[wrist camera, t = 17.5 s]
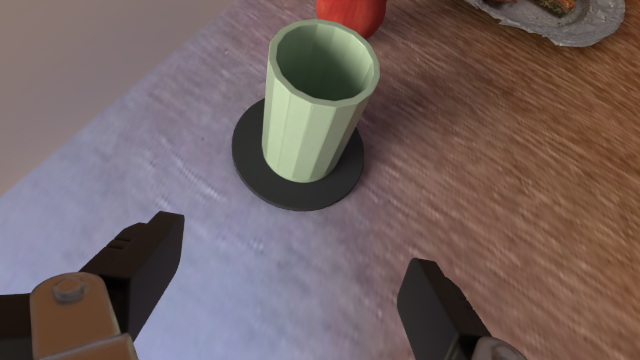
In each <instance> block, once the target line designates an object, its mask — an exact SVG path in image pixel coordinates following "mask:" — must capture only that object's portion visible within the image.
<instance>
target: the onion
mask: <svg viewBox="0 0 640 360" xmlns="http://www.w3.org/2000/svg"><path fill="white" fill-rule="evenodd" d="M386 1H387V0H317V2H316V14H317V17H318V19H322V20H327V21H332V22H337V23H340V24H342V25H344V26H346V27H348V28H350V29H352V30H354V31H356V32H357V33H358V34H359V35H360V36H361V37H363V38H364V39H367V38H369V37H370V36H372V35H373V34H374V32H375V31H376V30H377V29H378V28H379V26H380V25H381V24H382V22H383V19H384V16H385V11H386Z"/></svg>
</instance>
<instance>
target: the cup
mask: <svg viewBox="0 0 640 360" xmlns="http://www.w3.org/2000/svg"><path fill="white" fill-rule="evenodd" d="M379 80H380V66H379V60H378V58H377V56H376V54H375V52H374V50H373V48H372V47H371V45H370V44H369V43H368V42H367V41H366V40H365V39H364V38H363V37H361V36H360V35H359V34H358V33H357V32H356V31H354V30H352V29H350V28H348V27H346V26H344V25H342V24H340V23H337V22H332V21H327V20H322V19H308V20H299V21H296V22H294V23H291V24H289V25H287V26H285V27H283V28H281V29H280V30H279V32H278V33H277V34H276V36H275V37H274V38H273V40H272V41H271V42H270V47H269V55H268V66H267V79H266V93H265V107H264V121H263V135H262V151H263V155H264V158H265V160H266V162H267V163H268V165H269V166H270V167H271V169H272V170H273V171H274V172H276V173H277V174H278V175H280V176H281V177H283V178H285V179H288V180H291V181H294V182H302V183H306V182H313V181H317V180H320V179H322V178H324V177H325V176H327V175H328V174H329V173H330V172H331V171H332V170H333V169H334V167H335V166H336V164H337V162H338V160H339V158H340V156H341V154H342V152H343V150H344V148H345V147H346V145H347V143H348V141H349V139H350V137H351V135H352V133H353V131H354V129H355V127H356V125H357V123H358V121H359V119H360V117H361V115H362V113H363V111H364V109H365V108H366V106H367V104H368V102H369V100H370V98H371V96H372V94H373V92H374V90H375V88H376V86H377V84H378V82H379Z"/></svg>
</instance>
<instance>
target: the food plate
mask: <svg viewBox="0 0 640 360" xmlns="http://www.w3.org/2000/svg"><path fill="white" fill-rule="evenodd" d="M464 1H465V2H469V3H470V4H472V5H473V6H475V5H476V6H475V7H476V8H477V6H478V7H479V8H481V9H482V10H483V11H486V12H487V13H488V14H489V15H490V16H492V17H493V18H495V19H497V18H498V19H500V20H501V22H500V23H499V24H502V25H507V26H512V27H517V28H521V29H523V30H525V31H527V32H529V33H537V34H539V35H543V36H542V37H547V38H549V39H550V38H551V39H550V40H551V41H552V42H553V43H554V44H555V45H559V46H570V47H571V46H572V47H578V46H579V47H586V46H591V45H593V44H594V43H596V42H599V41H601V39H603V38H604V37H607V36H608V35H611V33H612V34H613V33H614V31H616V30H617V29H618V27H619V25H620V23H621V22H622V21H623V19H625V18H623V16H624V15H625V14H624V12H625V6H624V5H625V4H624V0H464ZM474 4H475V5H474ZM477 9H478V8H477ZM625 13H626V12H625ZM552 39H554V40H552Z"/></svg>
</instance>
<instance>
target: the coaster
mask: <svg viewBox="0 0 640 360" xmlns="http://www.w3.org/2000/svg"><path fill="white" fill-rule="evenodd" d="M264 107H265V98H264V99H262V100H260V101H258V102H257V103H255V104H254V105H252V106H251V107H250V108H249V109H248V110H247V111H246V112H245V113H244V114H243V115H242V117H241V118H240V120H239V121H238V123H237V125H236V128H235V130H234V133H233V138H232V156H233V161H234V165H235V167H236V170H237V172H238V174H239V176H240V178H241V180H242V181H243V182H244V183H245V185H246V186H247V187H248V188H249V189H250V190H251V191H252V192H253V193H254V194H255V195H257V196H258V197H259V198H261V199H262V200H264V201H266V202H267V203H269V204H272V205H274V206H276V207H279V208H283V209H286V210H293V211H313V210H318V209H323V208H325V207H328V206H331V205H333V204H334V203H336V202H338V201H340V200H341V199H342V198H344V197H345V196H346V195H347V194H348V193H349V192H350V191H351V190H352V188H353V187H354V186H355V184H356V183H357V181H358V179H359V177H360V175H361V172H362V169H363V165H364V147H363V143H362V139H361V136H360V134H359V132H358V130H357V128H356V127H355V129H354V131H353V133H352V135H351V137H350V139H349V141H348V143H347V145H346V147H345V148H344V150H343V152H342V154H341V156H340V158H339V160H338V162H337V164H336V166H335V167H334V169H333V170H332V171H331V172H330V173H329V174H328V175H327V176H325V177H324V178H322V179H320V180H317V181H313V182H306V183H302V182H294V181H291V180H288V179H285V178H283V177H281V176H280V175H278V174H277V173H276V172H274V171H273V170H272V169H271V167H270V166H269V165H268V163H267V162H266V160H265V158H264V155H263V151H262V135H263V121H264Z"/></svg>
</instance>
